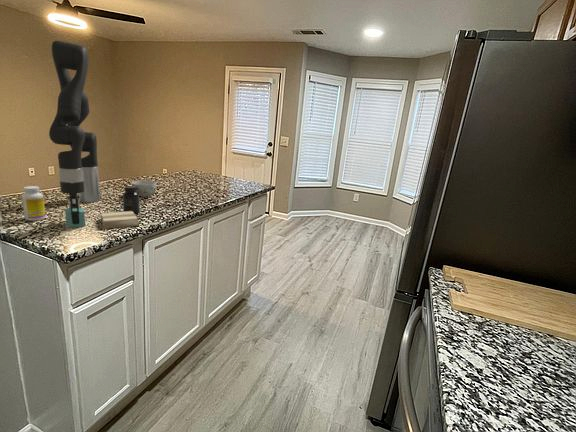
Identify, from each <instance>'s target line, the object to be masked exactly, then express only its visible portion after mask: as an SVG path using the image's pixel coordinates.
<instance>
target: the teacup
mask: <svg viewBox="0 0 576 432" xmlns="http://www.w3.org/2000/svg"><path fill="white" fill-rule="evenodd" d="M131 186H135V187H136V188H137V191H136V192H137V193H138V194H139V196H141V197H140V198H148V197H147V196H149V197H151V196H152V195H154V194H156V189H157V182H156V181H155V180H147V179H146V180H145V179H141V180H139V179H138V180H135V181H132V182H131Z"/></svg>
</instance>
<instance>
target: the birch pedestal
mask: <svg viewBox="0 0 576 432" xmlns="http://www.w3.org/2000/svg"><path fill="white" fill-rule="evenodd" d="M100 220H101V222H102V226H103V228H104V229H116V228H127V227H137V226H139V225H138V220H139V219H138V217H137V216H136V214H134V213H133V211H111V212H110V211H109V212H100Z"/></svg>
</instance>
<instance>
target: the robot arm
mask: <svg viewBox="0 0 576 432" xmlns="http://www.w3.org/2000/svg"><path fill="white" fill-rule="evenodd" d="M51 55H52V60H53V63H54V67H55V71H56V73H57V77H58V82H59V87H60V92H59V95H58V96H57V97H58V98H57V108H56V115H54V120H53V121H52V123H51V125H50V128H49V133H48V135H49V139H50V140H51V142H52V143H54V144H55V145H64V146H70V148H71V150H65V151H64V150H63V151H60V152H58V154H57V160H58V167H59V168H58V169H59V170H58V178H59V179H58V180H59V187H60V188H59V189H60V192H61V193H62V194H68V195H67V197H66V198H67V203H68V209H70V210H71V215H72V223H73V224H79V209H80V208H81V206H80V202H81V203H96V202H99V201H100V200H101V192H100V177H99V163H98V151H97V150H98V140H97V135H96V134H95V133H94V132H87V131H84V130H83V128H82V127H80V126H81V125H82V124H83V122H84V121H85V120H86V118H87V117H88V116H89V114H90V103H89V98H88V96H87V93H85V91H84V89H85V85H86V80H87V74H88V69H89V53H88V50H87V48H86V47H85V46H84V45H79V44H75V43H71V42H67V41H64V40H63V41H61V40H54V41H53V42H52V43H51ZM69 70H70V71H71V70H72V71H75V74H74V76H72V75H71V74H70V71H69ZM82 153H88V155H85V156H83V157H82ZM73 209H77V211H72V210H73Z"/></svg>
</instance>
